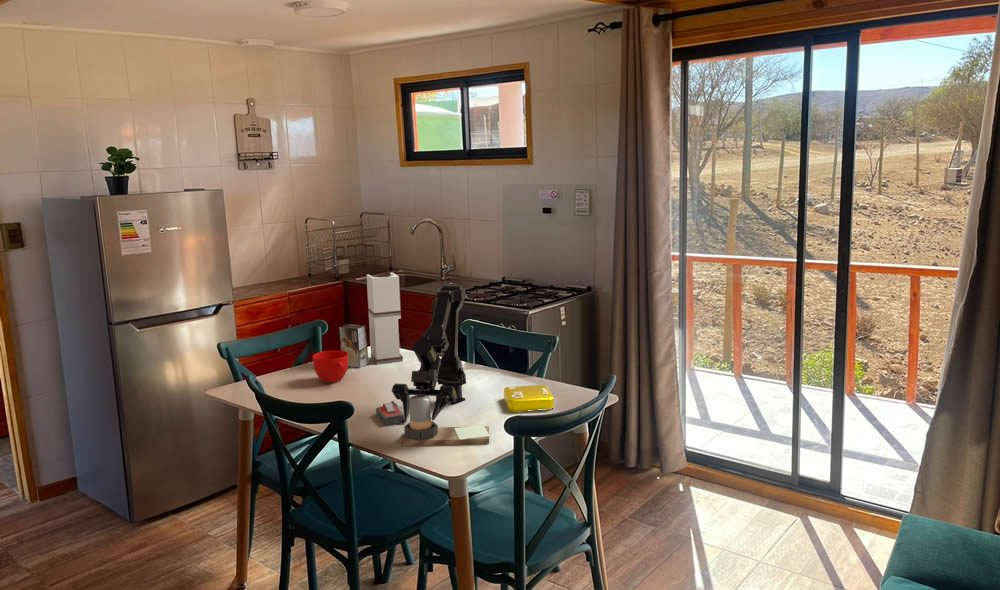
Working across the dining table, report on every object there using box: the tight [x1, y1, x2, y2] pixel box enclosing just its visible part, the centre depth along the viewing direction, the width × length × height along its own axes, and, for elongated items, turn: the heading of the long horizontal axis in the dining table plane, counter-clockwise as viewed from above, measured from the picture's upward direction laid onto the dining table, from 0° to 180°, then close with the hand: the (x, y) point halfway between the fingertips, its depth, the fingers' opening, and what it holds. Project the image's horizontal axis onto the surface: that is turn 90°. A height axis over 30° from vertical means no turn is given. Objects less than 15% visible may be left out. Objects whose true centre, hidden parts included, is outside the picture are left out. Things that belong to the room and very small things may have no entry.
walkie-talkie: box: [375, 400, 408, 427], centre depth 236 cm, size 9×4×20 cm
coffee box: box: [338, 323, 370, 368], centre depth 293 cm, size 9×6×16 cm
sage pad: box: [454, 425, 491, 440], centre depth 216 cm, size 9×9×1 cm
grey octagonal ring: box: [403, 420, 439, 440], centre depth 216 cm, size 10×10×2 cm
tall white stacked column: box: [366, 272, 404, 365], centre depth 299 cm, size 11×11×35 cm
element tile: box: [503, 384, 555, 413], centre depth 244 cm, size 15×15×5 cm
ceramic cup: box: [312, 349, 349, 383], centre depth 272 cm, size 13×17×10 cm
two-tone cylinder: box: [409, 395, 433, 431], centre depth 215 cm, size 6×6×11 cm
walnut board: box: [401, 425, 490, 447], centre depth 216 cm, size 25×10×2 cm, turn 91°
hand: (419, 419), depth 214 cm, fingers open, 8 cm apart
